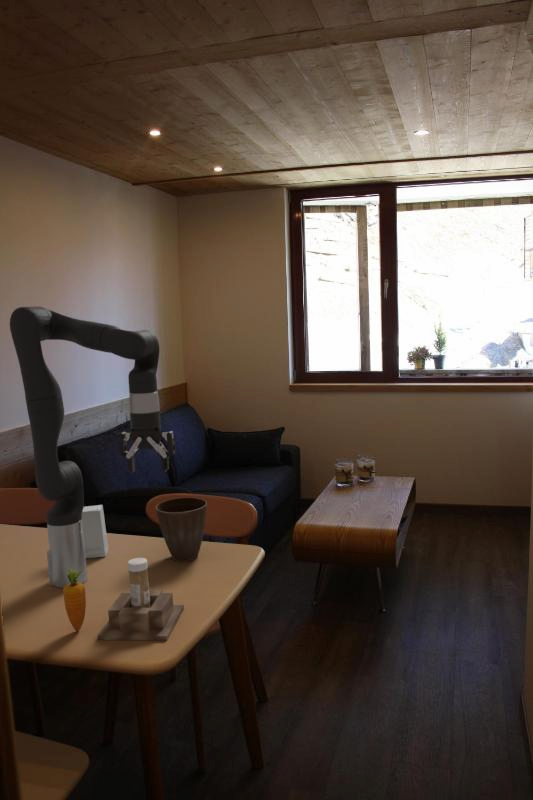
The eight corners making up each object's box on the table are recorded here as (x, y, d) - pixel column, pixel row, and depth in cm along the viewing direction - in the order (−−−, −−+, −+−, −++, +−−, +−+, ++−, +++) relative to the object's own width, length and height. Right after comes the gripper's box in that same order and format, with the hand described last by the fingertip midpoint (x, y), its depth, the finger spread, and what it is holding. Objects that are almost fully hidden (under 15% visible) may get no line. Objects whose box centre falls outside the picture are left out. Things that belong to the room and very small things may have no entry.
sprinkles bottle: (154, 616, 163) (150, 560, 161) (136, 621, 161) (132, 565, 159) (146, 609, 167) (142, 555, 165) (128, 614, 164) (124, 560, 162)
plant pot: (190, 569, 196) (187, 514, 194) (149, 562, 203) (145, 509, 201) (219, 551, 209) (216, 500, 207) (179, 545, 216) (176, 495, 214)
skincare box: (108, 550, 215) (104, 504, 213) (105, 557, 209) (101, 509, 207) (80, 552, 214) (76, 505, 212) (76, 559, 208) (72, 511, 206)
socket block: (97, 639, 157) (95, 616, 156) (120, 608, 173) (118, 587, 172) (167, 640, 155) (165, 617, 154) (183, 608, 171) (182, 587, 170)
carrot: (68, 627, 164) (63, 566, 162) (90, 625, 164) (85, 564, 162) (64, 637, 159) (58, 574, 157) (86, 635, 159) (81, 572, 157)
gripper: (112, 412, 174) (117, 475, 177) (167, 411, 172) (172, 475, 175) (122, 407, 182) (126, 468, 184) (175, 406, 180) (179, 468, 182)
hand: (148, 471), depth 179 cm, fingers open, 8 cm apart
